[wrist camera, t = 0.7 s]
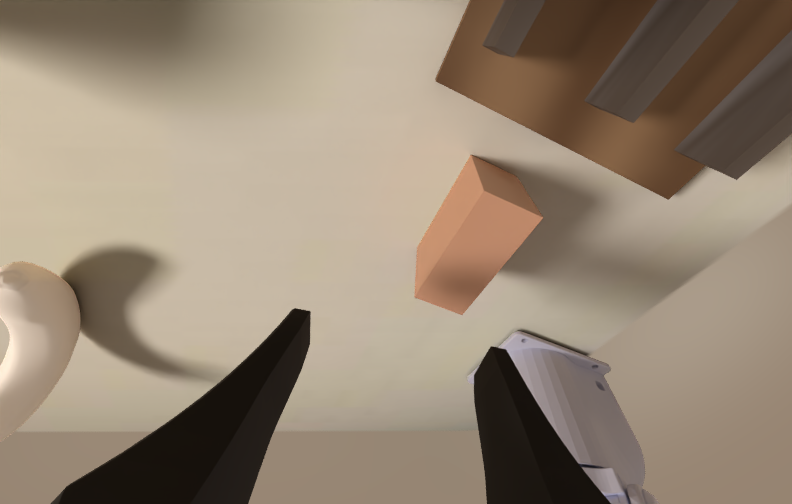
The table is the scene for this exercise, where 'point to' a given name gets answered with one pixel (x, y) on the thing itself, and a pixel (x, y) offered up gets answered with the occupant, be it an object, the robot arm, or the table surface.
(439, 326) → the table surface
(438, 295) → the salmon rectangular prism
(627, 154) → the slot rack
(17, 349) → the banana
